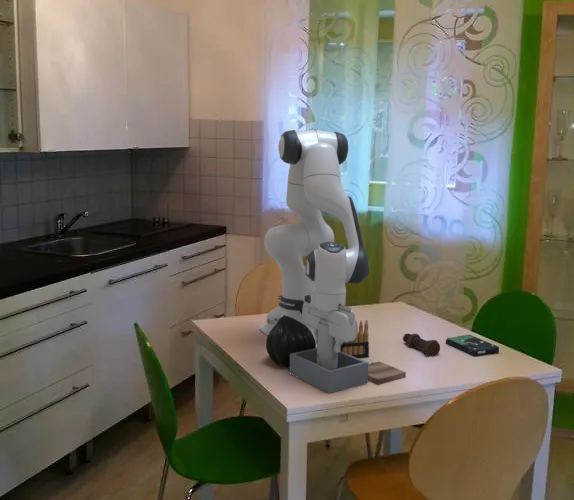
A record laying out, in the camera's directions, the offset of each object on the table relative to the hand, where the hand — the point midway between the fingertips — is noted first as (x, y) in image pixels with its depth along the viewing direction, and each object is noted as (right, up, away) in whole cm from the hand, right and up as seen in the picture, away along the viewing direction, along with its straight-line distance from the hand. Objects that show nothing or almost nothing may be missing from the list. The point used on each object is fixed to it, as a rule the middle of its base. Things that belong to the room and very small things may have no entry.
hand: (327, 347), depth 192 cm
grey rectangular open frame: (0, -9, +1) cm, 9 cm away
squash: (-11, -7, +14) cm, 19 cm away
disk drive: (+49, -5, +32) cm, 59 cm away
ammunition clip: (+9, -6, +20) cm, 22 cm away
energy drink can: (0, -6, +1) cm, 6 cm away
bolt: (+32, -5, +29) cm, 44 cm away
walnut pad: (+15, -9, +4) cm, 18 cm away
